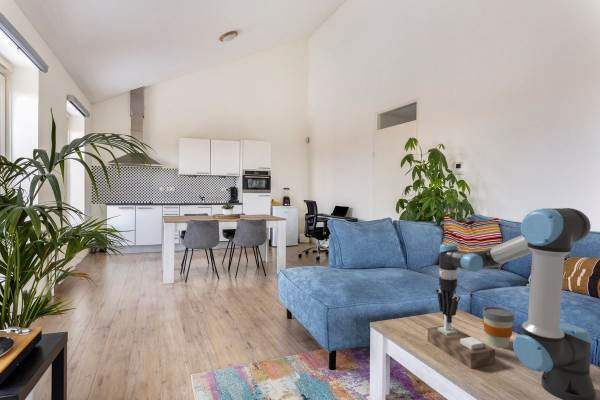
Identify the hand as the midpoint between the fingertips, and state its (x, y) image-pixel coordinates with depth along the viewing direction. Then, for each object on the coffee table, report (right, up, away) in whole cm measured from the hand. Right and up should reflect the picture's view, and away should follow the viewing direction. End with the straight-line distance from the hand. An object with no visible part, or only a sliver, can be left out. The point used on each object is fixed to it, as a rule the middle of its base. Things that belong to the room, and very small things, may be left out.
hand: (447, 328), depth 155 cm
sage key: (0, -5, 0) cm, 5 cm away
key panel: (+2, -8, -7) cm, 10 cm away
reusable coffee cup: (+24, -8, +1) cm, 25 cm away
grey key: (+4, -5, -13) cm, 15 cm away
